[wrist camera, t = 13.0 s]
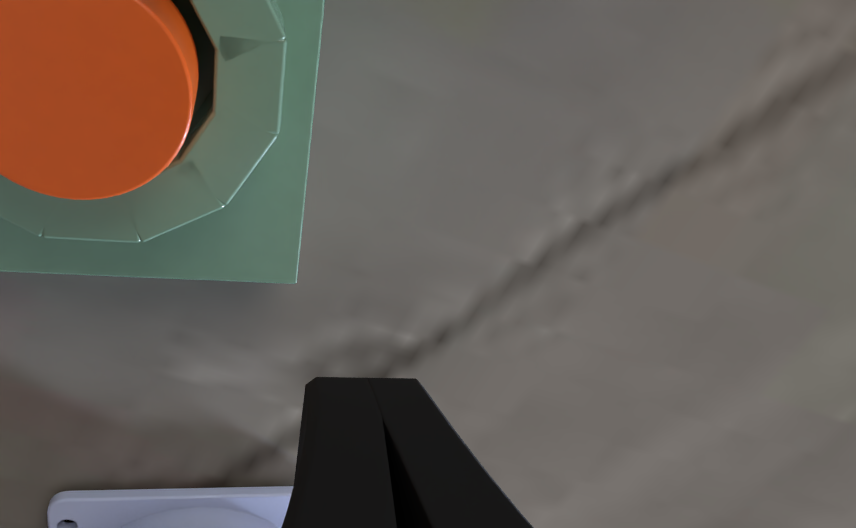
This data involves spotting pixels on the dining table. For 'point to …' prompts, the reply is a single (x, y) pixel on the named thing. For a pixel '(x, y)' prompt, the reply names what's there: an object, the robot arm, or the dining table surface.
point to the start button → (93, 93)
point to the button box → (201, 166)
